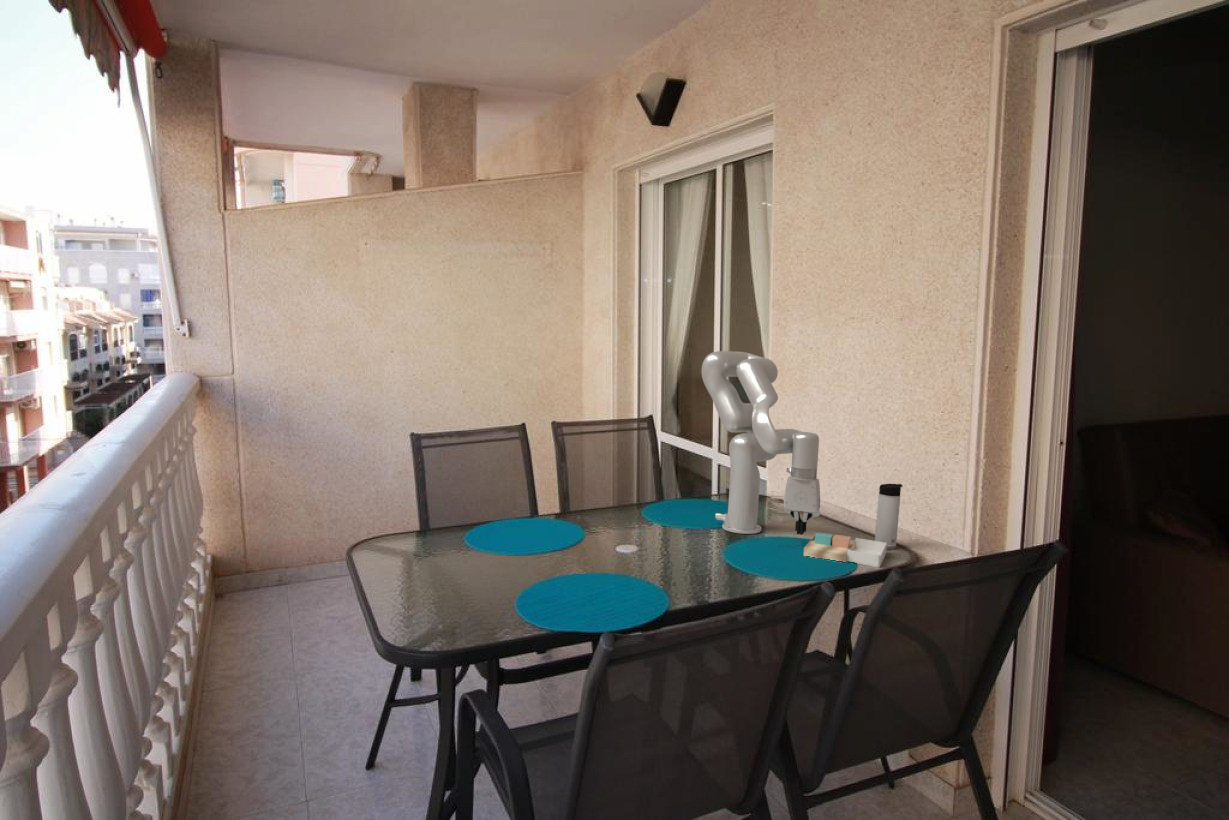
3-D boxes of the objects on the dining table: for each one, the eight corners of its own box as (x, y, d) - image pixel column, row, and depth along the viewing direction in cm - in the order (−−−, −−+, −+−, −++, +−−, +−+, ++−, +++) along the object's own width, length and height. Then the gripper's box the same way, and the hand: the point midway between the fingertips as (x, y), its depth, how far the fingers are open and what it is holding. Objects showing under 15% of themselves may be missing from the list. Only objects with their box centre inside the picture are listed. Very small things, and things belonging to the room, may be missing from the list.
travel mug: (898, 551, 233) (904, 486, 231) (875, 549, 235) (881, 484, 233) (895, 545, 239) (900, 482, 237) (873, 543, 241) (878, 480, 239)
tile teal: (814, 543, 228) (815, 535, 228) (817, 539, 232) (818, 531, 232) (830, 545, 226) (830, 537, 226) (832, 542, 230) (833, 534, 230)
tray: (846, 562, 219) (847, 550, 218) (854, 549, 233) (855, 537, 233) (879, 567, 215) (880, 555, 215) (886, 554, 229) (887, 542, 229)
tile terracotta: (831, 546, 226) (832, 537, 226) (834, 542, 230) (835, 534, 230) (847, 548, 224) (848, 540, 224) (850, 545, 228) (850, 536, 228)
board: (803, 556, 223) (804, 547, 223) (815, 542, 239) (816, 534, 239) (846, 563, 218) (846, 554, 218) (855, 548, 234) (856, 540, 234)
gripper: (776, 472, 230) (772, 532, 232) (827, 478, 224) (823, 539, 225) (782, 469, 237) (778, 527, 238) (831, 474, 230) (827, 534, 232)
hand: (800, 533), depth 232 cm, fingers closed
